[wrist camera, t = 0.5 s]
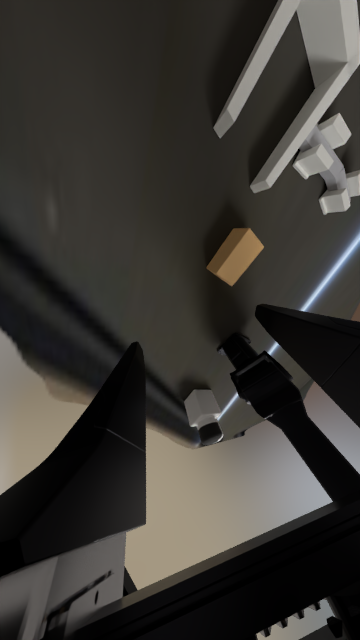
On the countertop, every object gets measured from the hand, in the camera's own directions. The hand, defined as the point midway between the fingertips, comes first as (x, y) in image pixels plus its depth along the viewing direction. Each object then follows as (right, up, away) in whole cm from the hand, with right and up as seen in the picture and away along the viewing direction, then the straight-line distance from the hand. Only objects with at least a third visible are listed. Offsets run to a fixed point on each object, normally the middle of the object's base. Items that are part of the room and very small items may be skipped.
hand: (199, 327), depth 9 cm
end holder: (+7, +21, +3) cm, 22 cm away
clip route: (+17, +19, +7) cm, 26 cm away
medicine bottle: (+4, -24, +34) cm, 42 cm away
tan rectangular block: (+6, +10, +10) cm, 16 cm away
